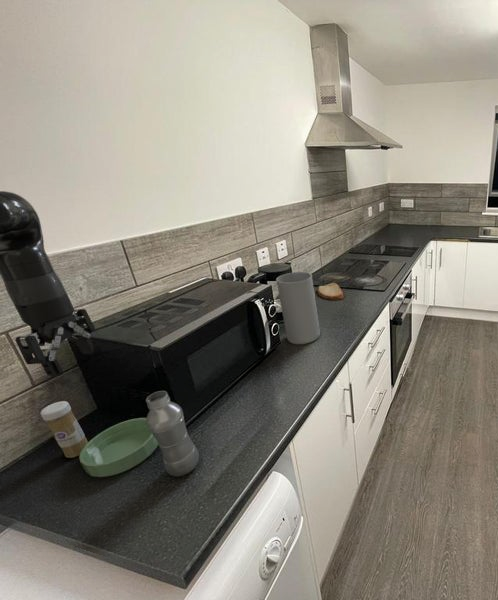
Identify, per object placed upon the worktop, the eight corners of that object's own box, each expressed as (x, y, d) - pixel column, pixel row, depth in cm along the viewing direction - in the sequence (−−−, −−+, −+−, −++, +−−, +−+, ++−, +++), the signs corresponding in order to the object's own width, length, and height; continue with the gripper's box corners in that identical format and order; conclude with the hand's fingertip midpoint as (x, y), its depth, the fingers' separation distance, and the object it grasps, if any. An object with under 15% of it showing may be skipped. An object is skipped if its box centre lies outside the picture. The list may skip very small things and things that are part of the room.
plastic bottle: (170, 486, 68) (137, 413, 60) (166, 466, 73) (135, 395, 65) (204, 469, 72) (177, 397, 64) (198, 450, 77) (173, 382, 69)
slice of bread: (341, 300, 160) (340, 293, 159) (308, 298, 164) (307, 291, 163) (354, 288, 176) (353, 281, 175) (324, 286, 180) (323, 280, 179)
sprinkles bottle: (63, 461, 75) (36, 417, 70) (68, 448, 79) (43, 405, 73) (88, 453, 77) (64, 409, 72) (93, 440, 81) (70, 397, 76)
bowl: (70, 484, 69) (62, 471, 68) (111, 435, 82) (105, 423, 81) (143, 471, 72) (137, 458, 70) (172, 425, 85) (167, 413, 83)
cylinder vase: (290, 348, 119) (278, 285, 110) (285, 334, 130) (274, 275, 120) (323, 340, 124) (314, 279, 114) (316, 327, 135) (308, 270, 125)
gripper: (51, 285, 71) (81, 348, 77) (-19, 312, 58) (24, 385, 64) (87, 283, 71) (114, 346, 78) (26, 309, 58) (65, 382, 65)
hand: (73, 363), depth 71 cm, fingers open, 8 cm apart
